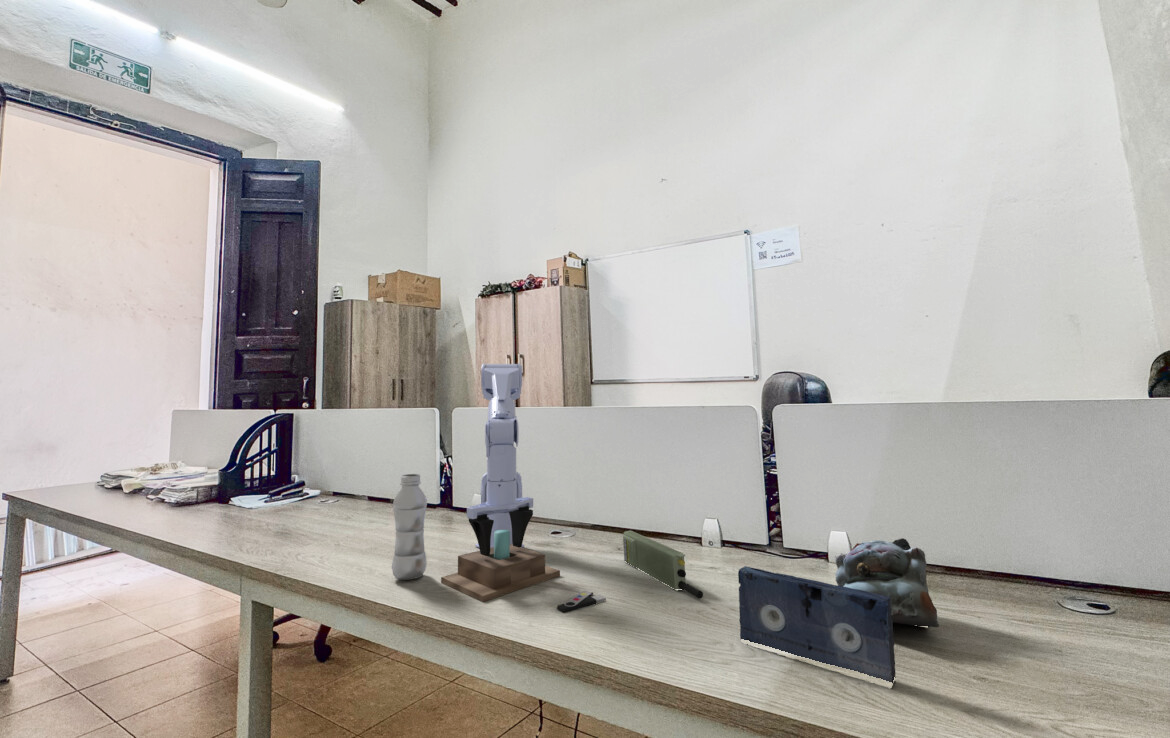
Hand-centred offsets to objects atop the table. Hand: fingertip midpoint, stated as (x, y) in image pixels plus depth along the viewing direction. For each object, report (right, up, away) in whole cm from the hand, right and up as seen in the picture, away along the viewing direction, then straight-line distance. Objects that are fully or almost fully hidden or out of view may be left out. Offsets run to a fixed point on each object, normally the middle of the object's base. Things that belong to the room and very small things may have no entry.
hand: (501, 550), depth 96 cm
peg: (0, -4, 0) cm, 4 cm away
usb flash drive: (+15, -5, -12) cm, 20 cm away
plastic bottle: (-18, -6, +1) cm, 19 cm away
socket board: (0, -5, 0) cm, 5 cm away
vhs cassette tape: (+46, -3, -32) cm, 56 cm away
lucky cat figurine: (+61, -3, -21) cm, 64 cm away
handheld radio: (+31, -5, -1) cm, 31 cm away
